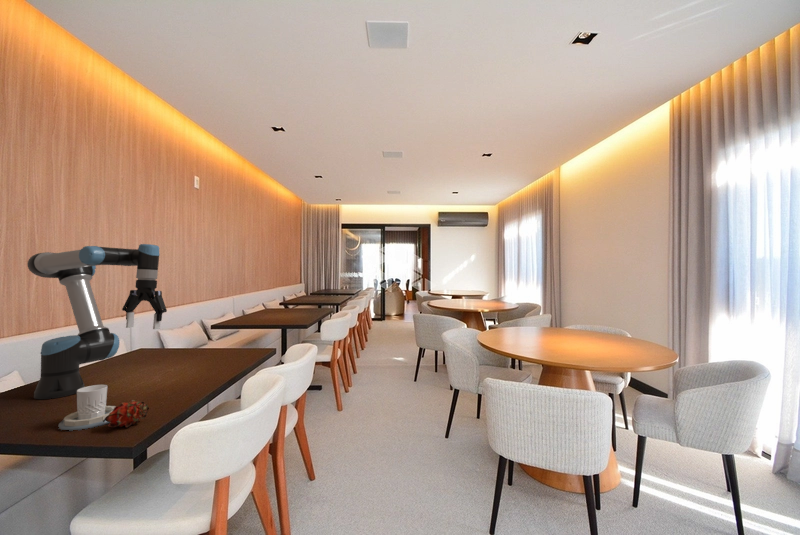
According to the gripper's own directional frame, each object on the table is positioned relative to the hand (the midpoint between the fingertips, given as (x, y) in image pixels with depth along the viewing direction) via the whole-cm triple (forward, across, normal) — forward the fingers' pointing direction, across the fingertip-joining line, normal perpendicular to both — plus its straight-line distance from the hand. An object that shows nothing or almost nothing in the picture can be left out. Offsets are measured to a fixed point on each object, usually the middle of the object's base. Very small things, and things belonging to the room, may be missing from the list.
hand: (142, 328), depth 149 cm
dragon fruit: (+28, -28, +30) cm, 50 cm away
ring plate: (+28, -12, +29) cm, 42 cm away
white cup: (+27, -12, +29) cm, 41 cm away
